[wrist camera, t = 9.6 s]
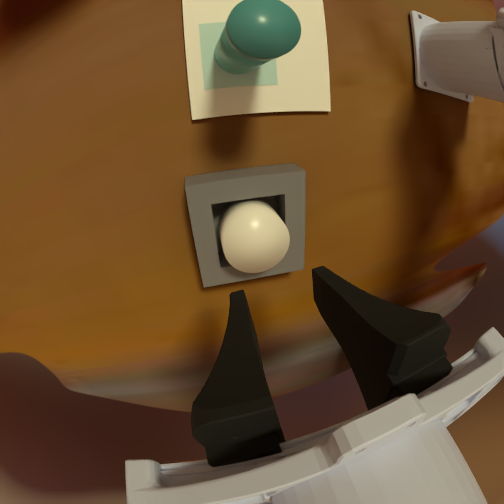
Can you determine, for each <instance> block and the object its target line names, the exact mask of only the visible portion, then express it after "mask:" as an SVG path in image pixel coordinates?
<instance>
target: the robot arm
mask: <svg viewBox="0 0 504 504" xmlns="http://www.w3.org/2000/svg"><path fill="white" fill-rule="evenodd" d="M410 19H411V26H412V34H413V44H414V57H415V76H416V85H417V86H418V87H419V88H422V89H426V90H430V91H434V92H438V93H441V94H445V95H448V96H451V97H455V98H458V99H461V100H464V101H467V102H470V103H472V102H473V95H474V96H478V97H483V98H487V99H492V100H496V101H500V102H504V7H503V8H501V9H500V10H499V12H498V14H497V15H496V19H497V21H498V22H497V21H457V22H442V23H441V22H439V21H437V20H434V19H432V18H430V17H428V16H426V15H423V14H421V13H419V12H417V11H411V12H410ZM424 84H425V85H424ZM312 278H313V293H314V301H315V303H316V305H317V307H318V309H319V312H320V314H321V316H322V317H323V319H324V321H325V322H326V324H327V325H328V327H329V329H330V330H331V332H332V333H333V335H334V336H335V338H336V340H337V341H338V343H339V344H340V346H341V348H342V349H343V351H344V353H345V355H346V357H347V359H348V362H349V364H350V366H351V368H352V370H353V373H354V375H355V377H356V380H357V382H358V384H359V387H360V389H361V392H362V394H363V397H364V400H365V403H366V406H367V408H368V411H367V412H364V413H362V414H360V415H358V416H355V417H353V418H351V419H349V420H346V421H344V422H341V423H339V424H336V425H333V426H331V427H328V428H326V429H323V430H320V431H317V432H314V433H312V434H309V435H306V436H303V437H300V438H297V439H293V440H290V441H287V442H285V439H284V436H283V432H282V429H281V427H280V423H279V420H278V417H277V414H276V411H275V407H274V404H273V401H272V398H271V395H270V391H269V388H268V385H267V382H266V379H265V375H264V370H263V365H262V360H261V355H260V350H259V345H258V340H257V335H256V331H255V328H254V324H253V321H252V317H251V313H250V310H249V306H248V303H247V299H246V296H245V293H244V290H239V291H236V292H232V293H231V294H230V309H229V317H228V323H227V328H226V332H225V336H224V340H223V344H222V347H221V350H220V353H219V356H218V358H217V360H216V363H215V365H214V368H213V370H212V372H211V374H210V376H209V378H208V379H207V381H206V383H205V385H204V387H203V388H202V390H201V392H200V393H199V395H198V396H197V398H196V399H195V401H194V402H193V405H192V413H191V427H192V435H193V437H194V438H195V439H196V440H197V441H198V442H199V443H200V444H202V445H203V446H204V447H205V449H206V455H207V459H205V460H198V461H190V462H181V463H171V464H159V463H158V462H156V461H154V460H149V459H141V460H126V461H125V463H126V464H125V466H126V492H127V504H487V502H486V499H485V497H484V495H483V494H482V491H481V489H480V487H479V486H478V484H477V482H476V480H475V478H474V476H473V474H472V472H471V470H470V469H469V467H468V465H467V463H466V461H465V460H464V458H463V456H462V454H461V452H460V451H459V449H458V447H457V446H456V444H455V442H454V440H453V439H452V437H451V435H450V434H449V432H448V430H447V429H446V427H447V426H448V425H450V424H451V423H452V422H453V421H455V420H456V419H457V418H458V417H460V416H461V415H462V414H463V413H465V412H466V411H467V410H468V409H469V408H471V406H473V405H474V404H475V403H476V402H477V401H479V400H480V399H481V398H482V397H483V396H484V395H485V394H487V393H488V392H489V391H490V390H491V389H492V388H493V387H494V386H495V385H496V384H497V383H498V382H499V381H500V380H501V379H502V377H503V376H504V338H502V336H501V335H500V334H499V333H498V332H497V331H496V329H495V328H494V327H492V328H491V329H489V330H488V331H487V332H486V333H484V334H483V335H482V336H481V337H480V338H479V339H478V341H477V342H476V344H475V347H474V348H473V349H472V350H470V351H469V352H467V353H466V354H465V355H463V356H462V357H461V358H459V359H458V360H456V361H455V362H453V363H452V364H450V363H449V361H448V360H447V359H446V356H447V353H446V352H445V350H444V349H443V348H444V346H445V344H446V342H447V340H448V338H449V335H450V332H451V327H450V326H449V324H448V323H447V322H446V321H445V320H444V319H443V318H442V317H441V316H440V315H439V314H437V313H430V312H423V311H418V310H414V309H409V308H406V307H402V306H399V305H396V304H393V303H390V302H387V301H385V300H382V299H380V298H378V297H375V296H373V295H371V294H369V293H367V292H365V291H363V290H361V289H359V288H358V287H356V286H354V285H352V284H351V283H349V282H347V281H346V280H344V279H343V278H341V277H340V276H338V275H336V274H335V273H333V272H332V271H330V270H329V269H327V268H326V267H324V266H321V267H318V268H314V269H312Z"/></svg>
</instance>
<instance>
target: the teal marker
mask: <svg viewBox="0 0 504 504" xmlns="http://www.w3.org/2000/svg"><path fill="white" fill-rule="evenodd" d="M300 36H301V24H300V21H299V18H298V16H297V15H296V13H295V12H294V11H293V10H292V9H291V8H290V7H289V6H288V5H287V4H285V3H284V2H282V1H280V0H243V1H241V2H240V3H238V4H237V5H236V6H235V7H234V8H233V9H232V11H231V12H230V14H229V16H228V19H227V21H226V24H225V27H224V29H223V31H222V33H221V36H220V38H219V40H218V42H217V44H216V47H215V51H214V56H215V60H216V62H217V63H218V65H219V66H220V67H221V68H222V69H223V70H225V71H227V72H229V73H233V74H245V73H248V72H250V71H252V70H254V69H256V68H257V67H259V66H261V65H263V64H265V63H267V62H269V61H271V60H273V59H276V58H279V57H281V56H283V55H285V54H287V53H288V52H290V51H291V50H292V49H294V47H295V46H296V45H297V43H298V42H299V39H300Z"/></svg>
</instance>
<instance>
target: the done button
mask: <svg viewBox="0 0 504 504" xmlns="http://www.w3.org/2000/svg"><path fill="white" fill-rule="evenodd" d="M218 230H219V235H220V239H221V243H222V247H223V251H224V255H225V257H226V259H227V261H228V262H229V263H230V264H231V265H232V266H233V267H234V268H236V269H237V270H239V271H242V272H246V273H259V272H263V271H266V270H268V269H270V268H272V267H274V266H275V265H277V264H278V263H279V262H280V261H281V260H282V259H283V257H284V256H285V254H286V252H287V250H288V247H289V243H290V235H289V231H288V229H287V227H286V225H285V224H284V222H283V221H282V220H281V218H280V217H279V216H278V214H277V213H276V212H275V210H274V209H273V208H272V206H271V205H270V204H269V203H267V202H266V201H264V200H262V199H260V198H251V199H243V200H237V201H233V202H232V203H230V204H229V205H228V206H227V207H226V208H225V209H224V211H223V212H222V214H221V216H220V218H219V222H218Z"/></svg>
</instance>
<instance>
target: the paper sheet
mask: <svg viewBox="0 0 504 504" xmlns="http://www.w3.org/2000/svg"><path fill="white" fill-rule="evenodd" d="M241 1H243V0H182V5H183V22H184V37H185V50H186V63H187V74H188V85H189V95H190V104H191V114H192V120H196V119H203V118H211V117H219V116H228V115H238V114H250V113H264V112H285V111H331V110H330V82H329V64H328V50H327V37H326V27H325V17H324V9H323V1H322V0H280V1H282V2H284V3H285V4H287V5H288V6H289V7H290V8H291V9H292V10H293V11H294V12H295V13H296V15H297V16H298V18H299V21H300V24H301V36H300V39H299V42H298V43H297V45H296V46H295V47H294V49H292V50H291V51H290V52H288V53H287V54H285V55H283V56H281V57H279V58H276V59H273V60H271V61H269V62H267V63H265V64H263V65H261V66H259V67H257V68H256V69H254V70H252V71H250V72H248V73H245V74H233V73H229V72H227V71H225V70H223V69H222V68H221V67H220V66H219V65H218V63H217V62H216V60H215V56H214V51H215V47H216V44H217V42H218V40H219V38H220V36H221V33H222V31H223V29H224V27H225V24H226V21H227V19H228V16H229V14H230V12H231V11H232V9H233V8H234V7H235V6H236V5H237V4H238V3H240V2H241Z"/></svg>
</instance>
